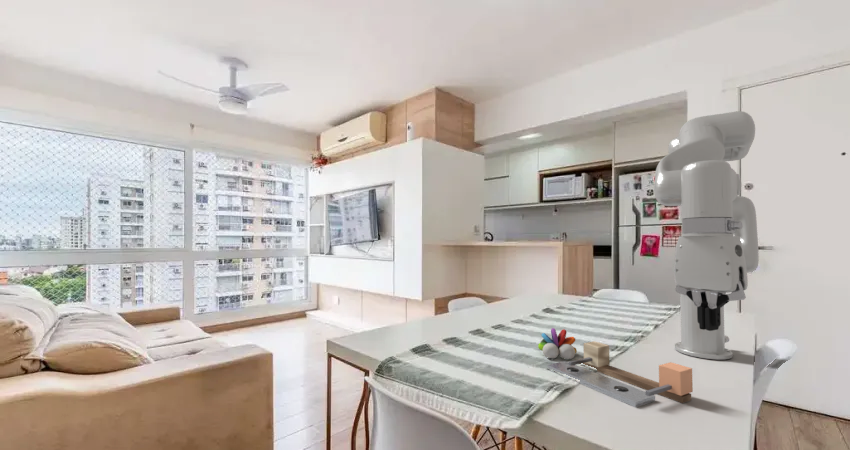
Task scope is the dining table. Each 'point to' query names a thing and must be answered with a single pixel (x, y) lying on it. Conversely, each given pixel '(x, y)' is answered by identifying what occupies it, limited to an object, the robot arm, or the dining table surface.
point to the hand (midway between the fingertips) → (709, 329)
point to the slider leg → (673, 380)
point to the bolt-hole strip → (604, 384)
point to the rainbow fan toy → (557, 345)
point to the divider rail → (619, 370)
